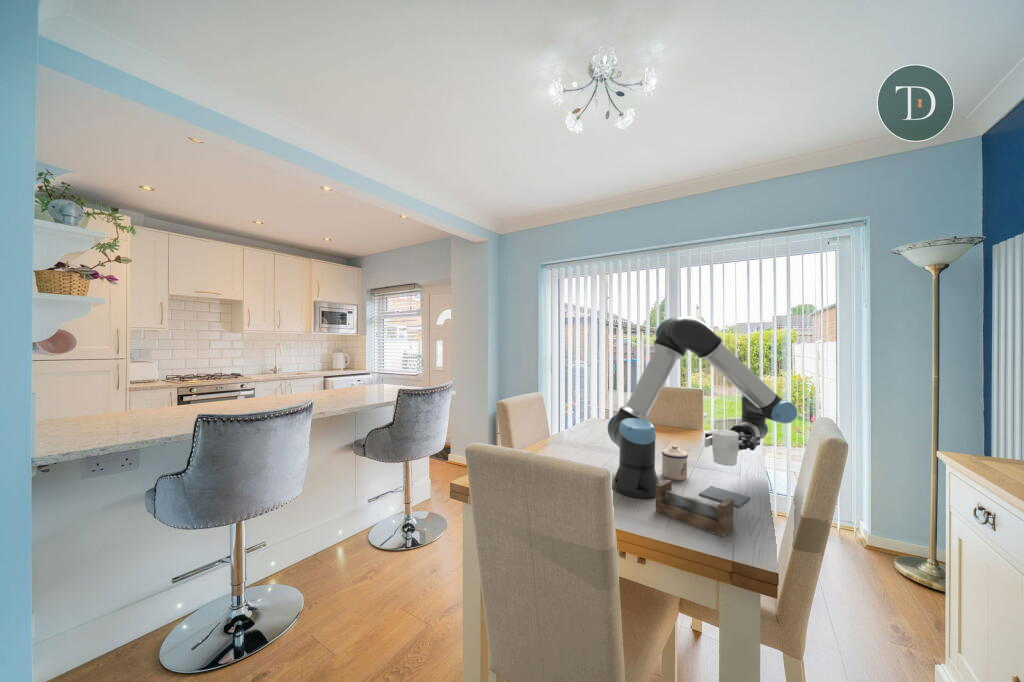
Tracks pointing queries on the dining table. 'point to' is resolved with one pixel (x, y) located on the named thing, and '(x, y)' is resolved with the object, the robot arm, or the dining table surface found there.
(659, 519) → the dining table surface
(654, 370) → the robot arm
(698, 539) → the dining table surface
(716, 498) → the slate mat
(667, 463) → the teacup with lid
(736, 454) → the white cup
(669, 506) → the offcut rack
